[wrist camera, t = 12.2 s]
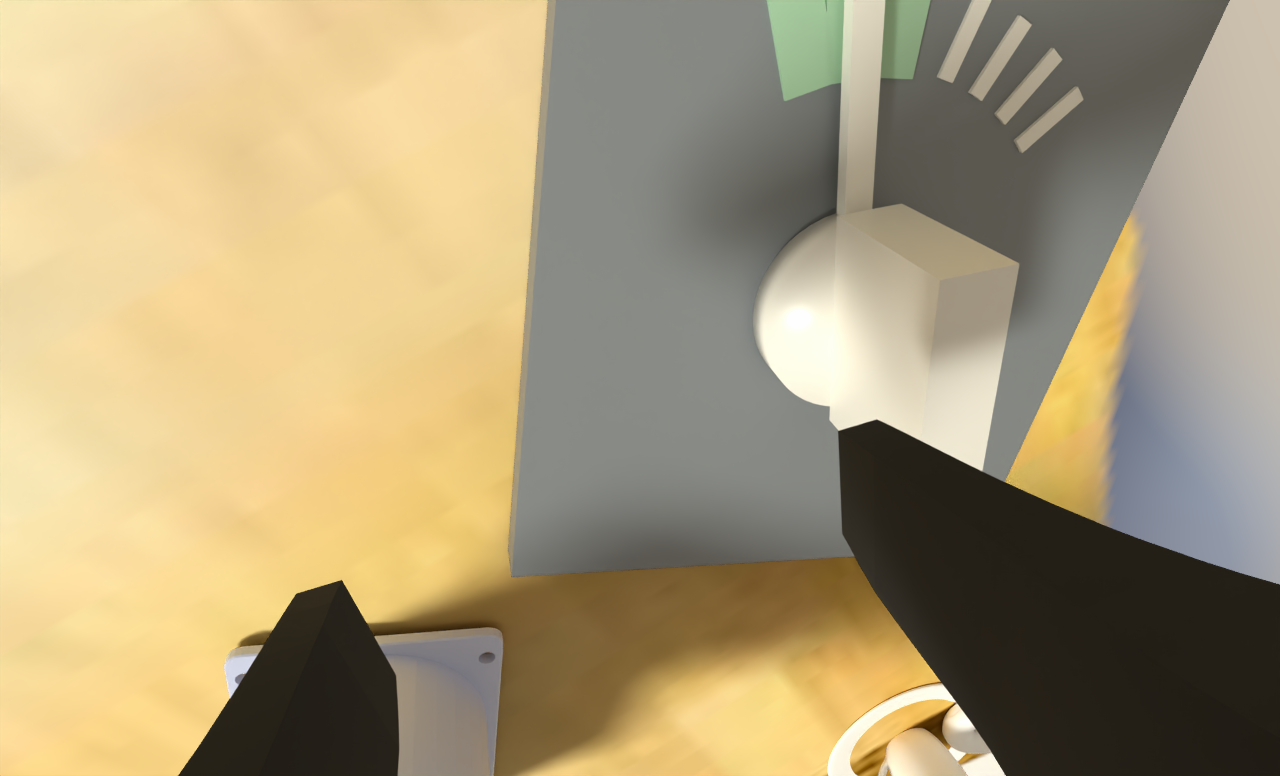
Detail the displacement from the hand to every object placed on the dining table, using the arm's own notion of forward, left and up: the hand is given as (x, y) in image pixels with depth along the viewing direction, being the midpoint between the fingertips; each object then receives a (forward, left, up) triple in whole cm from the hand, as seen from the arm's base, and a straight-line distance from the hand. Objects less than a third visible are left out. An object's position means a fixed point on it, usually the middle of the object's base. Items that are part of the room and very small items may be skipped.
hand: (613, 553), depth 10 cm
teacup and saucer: (-22, -21, -10) cm, 32 cm away
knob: (+3, -7, -8) cm, 11 cm away
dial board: (+1, -8, -9) cm, 12 cm away
